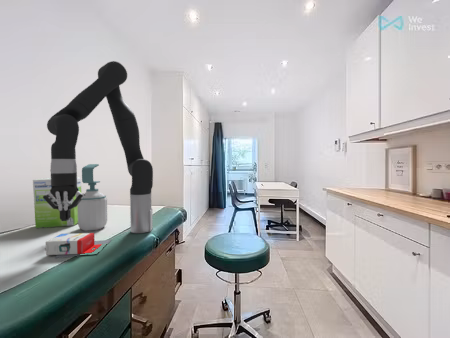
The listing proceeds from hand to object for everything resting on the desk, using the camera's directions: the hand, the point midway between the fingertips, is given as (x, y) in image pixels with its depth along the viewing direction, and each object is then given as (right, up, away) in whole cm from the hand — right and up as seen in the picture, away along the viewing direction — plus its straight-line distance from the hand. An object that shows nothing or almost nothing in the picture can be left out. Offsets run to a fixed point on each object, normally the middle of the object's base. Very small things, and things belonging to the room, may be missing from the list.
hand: (65, 220), depth 78 cm
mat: (+6, -11, +2) cm, 13 cm away
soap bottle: (-7, -11, +28) cm, 31 cm away
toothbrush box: (-29, -11, +36) cm, 47 cm away
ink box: (-4, -8, -1) cm, 9 cm away
